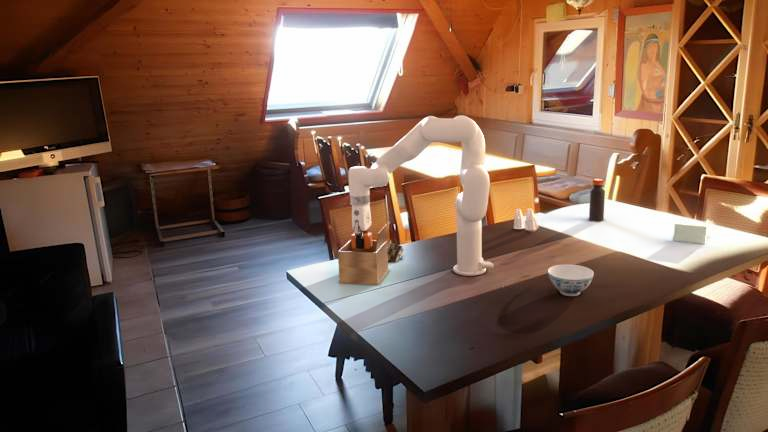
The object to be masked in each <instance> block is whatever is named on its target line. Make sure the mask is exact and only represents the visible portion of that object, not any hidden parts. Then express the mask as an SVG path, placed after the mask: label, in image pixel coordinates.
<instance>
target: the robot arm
mask: <svg viewBox="0 0 768 432" xmlns="http://www.w3.org/2000/svg"><path fill="white" fill-rule="evenodd" d="M432 143H460V144H461V163H460V171H459V180H460V183H461V184H462V186H463V187H462V191H461V192H460V193H458V195H457V196H456V198H455V202H454V204H455V205H454V209H455V220H456V221H455V222H456V264H455V265H454V266H453V267H452V271H453V273H455V274H457V275H460V276H464V277H465V276H466V277H474V276H481V275H483V274H484V273H486V271H487V269H494V262H493V263H492V261H485V260H484V257H482V256H483V254H482V253H483V252H482V251H483V248H482V247H483V245H482V244H483V243H482V242H483V241H482V238H483V237H482V235H483V234H482V233H483V225H482V220H483V218H484V217H485V216H486V214H487V210H488V206H489V205H488V204H489V195H490V185H491V182H490V181H491V180H490V175H489V173H488V171H487V170H486V169H485V162H486V141H485V137H484V134H483V131H482V130H481V128H480V126H479V125H478V124H477V123H476V121H474V120H473V119H472V118H470V117H468V115H467V116H466V115H462V114H461V115H460V114H459V115H456V116H455V117H454V118H443V117H436V116H433V115H428V116H426V117H424V118H422V119H421V120H420V121H419V122H418V123H417V124H416V125H415V126H414V127H413V128H412V129H411V130H409V132H407V134H405V135H404V136H403V137H402V138H401V139H400V140H399V141H398V142H396V143H394V145H393V146H391V148H389V149H388V150H387V151H386V152H384V153H383V154H382V155H381V156H380V157H379V158H378V159H377V160H376V161H374V162H373V163H372V164H371V165H370V167H369V168H367V167H366V166H364V165H363V166H362V165H361V166H359V165H356V166H352V167H350V168H349V169H348V171H347V173H348V175H347V177H348V189H349V190H348V191H349V192H348V193H349V205H351V227H352V231H353V233H354V234H355V239H356V248H358V249H364V238H363V233H369V228H370V227H371V226H372V215H371V214H372V212H371V206H370V205H371V194H370V193H371V191H370V187H374V188H382V187H385V186H387V185H388V184H389V182H390V179H391V178H390V177H391V175H392V173H393V172H394V171H395V170H397V169H398V168H399V167H400V166H401V165H403V164H404V163H407V162H410V161H413V160H414V159H415V158H417V157H418V156H419V155H420V154H421V153H422V152H423V151H424V150H426V149H427V147H429V146H430V145H431V144H432ZM359 232H361V234H360V233H359Z"/></svg>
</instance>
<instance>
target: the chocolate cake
mask: <svg viewBox="0 0 768 432" xmlns="http://www.w3.org/2000/svg"><path fill="white" fill-rule="evenodd" d="M387 251H388V262H393V263H397V262H398V260H402V257H403V256H404V252H405V251H404V246H403V245H400V244H397V243H393V242H392V239H390V241H389V243H388V244H387Z"/></svg>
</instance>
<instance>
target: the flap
mask: <svg viewBox="0 0 768 432" xmlns="http://www.w3.org/2000/svg"><path fill="white" fill-rule="evenodd" d="M390 224H391V221H388V222H387V223H386V224H385V225H384V226H383V227H382V228H381V229H380V230H379V231H378V232H377V238H376V240H377V246H376V251H377V250H378V249H379V248H380V247H381V246H382V245H383V244H384V243H385V241H388V238H389V230H390Z"/></svg>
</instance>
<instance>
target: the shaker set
mask: <svg viewBox="0 0 768 432" xmlns="http://www.w3.org/2000/svg"><path fill="white" fill-rule="evenodd" d="M513 229H514V230H523V229H524V230H526V231H527V232H529V233H534V232H536V231H537V230H538V229H539V225H538V222H537V219H536V216H535V214H534V211H533V209H532V208H527V210H526V215H525V218H524V216H523V213H522V210H521V209H520V208H515V214H514V221H513Z"/></svg>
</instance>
